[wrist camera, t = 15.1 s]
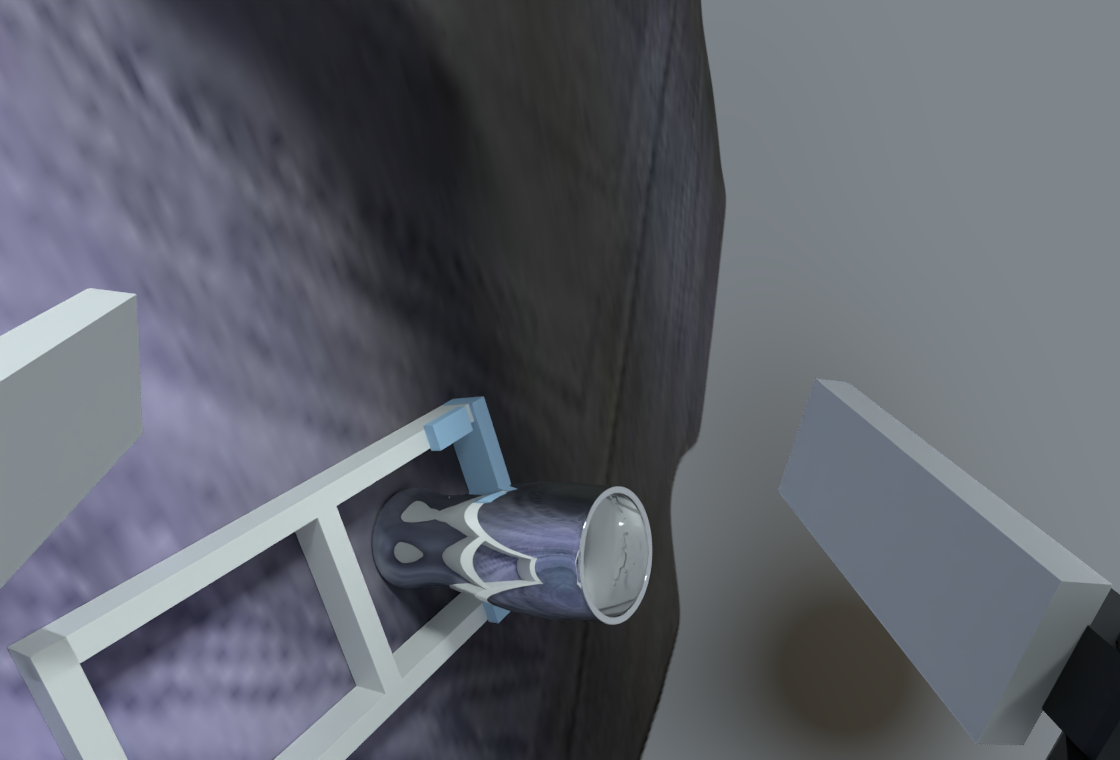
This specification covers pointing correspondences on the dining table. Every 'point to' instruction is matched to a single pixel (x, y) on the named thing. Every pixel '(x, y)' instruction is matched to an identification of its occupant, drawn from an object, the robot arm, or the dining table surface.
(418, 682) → the frame
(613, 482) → the dining table surface
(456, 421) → the light blue bracket
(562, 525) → the beer glass
